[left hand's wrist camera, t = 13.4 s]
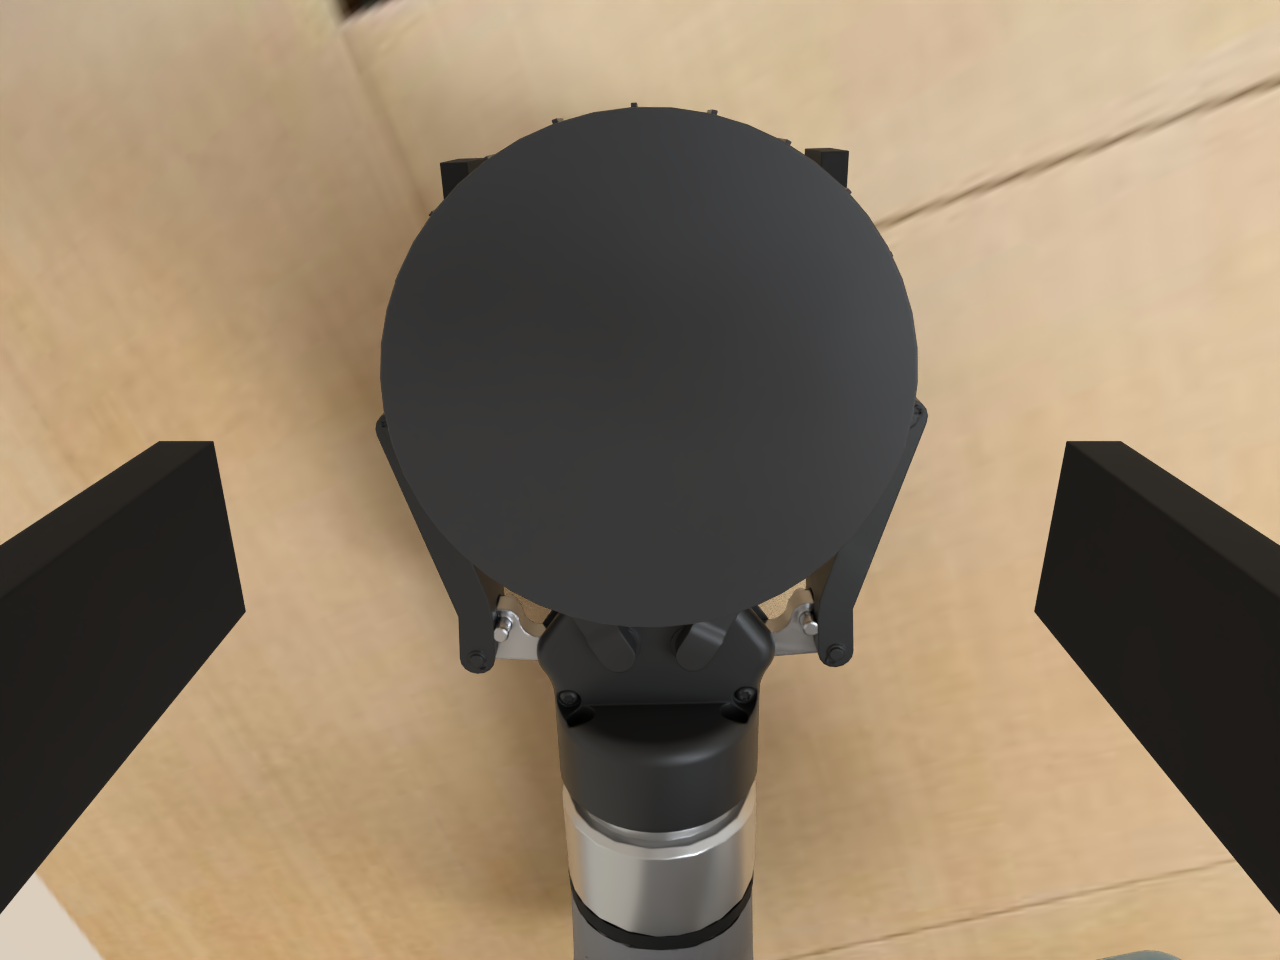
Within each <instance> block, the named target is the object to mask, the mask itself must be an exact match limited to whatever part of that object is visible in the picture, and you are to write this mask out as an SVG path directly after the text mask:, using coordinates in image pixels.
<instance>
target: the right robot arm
mask: <svg viewBox="0 0 1280 960" xmlns="http://www.w3.org/2000/svg"><path fill="white" fill-rule="evenodd" d="M805 156H807V157H809V158H810V159H812V160H813V161H815V162H816V163H817V164H818V165H819V166H821V167H822V168H823V169H824V170H825V171H826V172H827V173H829V174H830V175H831V176H832V177H833V178H834V179H835V180H837V181H838V182H839V183H840V184H841V185H842V186H843V187H845V188H847V175H848V157H849V151H846V150H839V149H833V148H813V149H805ZM482 159H483V158H472V159H456V160H451V161H447V162H442V163H440V167H441V177H442V186H443V195H444V199H445V198H446V197H447V196H448V195H449V194H450V193H451V191H452V190H453V189H454V188H455V187H456V186H457V185H458V184H459V183H460V182H461V181H462V180H463V179H465V178H466V177H467V176H468V175H469V174H470V173H472V172H473V171H474V170H475V169H476V168H478V167H479V166H480V165H481V164H482V163H483V162H484V161H483V160H482ZM927 418H928V414H927V410H926V408H925V407H924V405H923V404H922V403H921V402H920V401H919V400H918V399H917V398H915V406H914V414H913V419H912V422H911V426H910V430H909V433H908V437H907V441H906V445H905V448H904V451H903V453H902V455H901V458H900V460H899V463H898V465H897V467H896V470H895V472H894V475H893V477H892V479H891V481H890V483H889V485H888V486H887V488H886V490H885V492H884V493H883V495H882V497H881V498H880V500H879V502H878V504H877V505H876V507H875V509H874V510H873V511H872V513H871V514H870V515H869V516H868V518H867V519H866V520H865V522H864V523H863V524H862V526H861V527H860V528H859V530H858V531H857V532H856V534H855V535H854V536H853V537H852V538H851V539H850V540H849V541H848V542H847V543H846V544H845V545H844V546H843V547H842V548H841V549H840V550H839V551H838V552H837V553H836V554H835V555H834V556H833V557H832V558H831V559H830V560H828V561H827V562H826V563H825V564H823V565H822V566H821V567H820V568H818V569H817V570H816V571H815V572H814V573H812V574H811V575H810V576H809V577H807V578H806V589H803V588H799V589H796V590H795V591H794V593H793V595H792V596H791V597H790V598H789V600H788V603H787V607H786V610H785V611H784V613H783V614H781V615H780V616H779V617H777V618H774V619H768V618H767V616H766V615H765V613H764V612H763V611H762V610H761V609H760V607H759V606H758V605H756V606H754V607H752V608H749V609H746V610H743V611H740V612H737V613H734V614H731V615H729V616H726V617H722V618H718V619H713V620H709V621H704V622H700V623H695V624H688V625H678V626H669V627H626V626H618V625H610V624H602V623H596V622H592V621H588V620H584V619H580V618H576V617H571V616H568V615H565V614H562V613H560V612H557V611H554V610H552V611H551V612H550V613H549V615H548V616H547V617H546V619H545V620H544V622H543V624H540V623H535V622H533V621H531V620H530V619H528V618H527V617H526V615H525V613H524V610H523V607H522V605H521V604H520V602H519V601H518V600H517V598H516V597H515V596H514V595H512V594H506V595H504V586H503V585H501V584H500V583H498V582H497V581H495V580H494V579H492V578H491V577H489V576H488V575H486V574H485V573H483V572H482V571H481V570H480V569H479V568H477V567H476V566H475V565H474V564H473V563H471V562H470V561H469V560H468V559H467V558H466V557H464V556H463V555H462V554H461V553H460V552H459V551H458V550H457V549H456V548H455V547H454V546H453V545H452V544H451V543H450V541H449V540H448V539H447V538H446V537H445V536H444V535H443V534H442V533H441V532H440V531H439V530H438V528H437V527H436V525H435V524H434V523H433V521H432V520H431V519H430V517H429V516H428V514H427V513H426V512H425V510H424V509H423V507H422V506H421V505H420V503H419V501H418V500H417V498H416V496H415V494H414V492H413V490H412V489H411V487H410V485H409V483H408V481H407V479H406V478H405V476H404V474H403V471H402V469H401V466H400V464H399V461H398V458H397V456H396V453H395V451H394V448H393V446H392V443H391V438H390V434H389V430H388V426H387V422H386V418H385V414H384V413H383V415H382V416H381V417H380V418H379V420H378V421H377V424H376V433H377V436H378V439H379V441H380V443H381V445H382V448H383V450H384V452H385V454H386V457H387V459H388V461H389V463H390V465H391V468H392V470H393V472H394V474H395V477H396V479H397V481H398V483H399V485H400V488H401V490H402V492H403V494H404V497H405V499H406V501H407V503H408V505H409V508H410V510H411V512H412V514H413V517H414V519H415V521H416V523H417V526H418V528H419V530H420V532H421V534H422V537H423V539H424V541H425V543H426V546H427V548H428V550H429V552H430V554H431V557H432V559H433V561H434V563H435V566H436V568H437V570H438V572H439V575H440V577H441V579H442V581H443V583H444V586H445V588H446V590H447V592H448V595H449V597H450V599H451V601H452V603H453V606H454V608H455V610H456V612H457V615H458V617H459V643H460V660H461V664H462V665H463V666H464V668H465V669H466V670H468V671H470V672H472V673H477V674H479V673H485V672H487V671H489V670H490V669H491V668H492V666H493V665H494V661H495V659H518V660H538V661H539V664H540V665H541V667H542V669H543V670H544V671H545V672H546V674H547V675H548V677H549V678H550V680H551V682H552V684H553V687H554V692H555V704H556V717H557V730H558V743H559V756H560V769H561V776H562V779H563V782H564V784H563V791H562V798H563V809H564V820H565V830H566V841H567V852H568V862H569V877H570V884H571V890H572V912H573V938H574V960H753V933H752V884H753V868H754V863H755V835H756V780H755V776H756V772H757V755H758V720H759V688H760V682H761V679H762V676H763V674H764V672H765V671H766V669H767V668H768V667H769V665H770V664H771V662H772V660H773V658H774V656H782V655H794V654H806V653H818V655H819V658H820V660H821V661H822V662H823V663H824V664H825V665H828V666H830V667H838V666H842V665H844V664H846V663H847V662H848V661H849V660H850V659H851V657H852V654H853V607H854V605H855V602H856V600H857V597H858V595H859V592H860V590H861V587H862V585H863V582H864V579H865V577H866V574H867V572H868V569H869V567H870V564H871V562H872V559H873V557H874V554H875V552H876V549H877V547H878V544H879V542H880V539H881V537H882V534H883V531H884V529H885V526H886V524H887V521H888V519H889V516H890V514H891V511H892V509H893V506H894V504H895V501H896V499H897V496H898V494H899V491H900V489H901V486H902V483H903V481H904V478H905V476H906V473H907V471H908V468H909V466H910V463H911V461H912V458H913V456H914V453H915V451H916V448H917V446H918V443H919V441H920V438H921V435H922V433H923V430H924V428H925V425H926V423H927ZM1098 960H1181V959H1179V958H1177V957H1175V956H1173V955H1170V954H1167V953H1163V952H1160V951H1146V950H1145V951H1138V952H1133V953H1128V954H1123V955H1118V956H1113V957H1108V958H1103V959H1098Z"/></svg>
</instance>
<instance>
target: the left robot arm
mask: <svg viewBox="0 0 1280 960" xmlns="http://www.w3.org/2000/svg"><path fill="white" fill-rule="evenodd" d="M245 612H246V610H245V605H244V600H243V594H242V589H241V584H240V579H239V573H238V568H237V563H236V558H235V552H234V547H233V542H232V537H231V531H230V526H229V521H228V516H227V510H226V505H225V500H224V494H223V489H222V484H221V479H220V473H219V468H218V463H217V458H216V452H215V447H214V442H213V441H159V442H157V443H156V444H154V445H153V446H151V447H150V448H148V449H147V450H145V451H144V452H142V453H141V454H139V455H137V456H136V457H134V458H133V459H131V460H130V461H128V462H127V463H125V464H124V465H122V466H121V467H119V468H118V469H116V470H115V471H113V472H112V473H110V474H108V475H107V476H105V477H104V478H102V479H101V480H99V481H98V482H96V483H95V484H93V485H92V486H90V487H89V488H87V489H86V490H84V491H83V492H81V493H80V494H78V495H76V496H75V497H73V498H72V499H70V500H69V501H67V502H66V503H64V504H63V505H61V506H60V507H58V508H57V509H55V510H54V511H52V512H51V513H49V514H47V515H46V516H44V517H43V518H41V519H40V520H38V521H37V522H35V523H34V524H32V525H31V526H29V527H28V528H26V529H25V530H23V531H22V532H20V533H19V534H17V535H15V536H14V537H12V538H11V539H9V540H8V541H6V542H5V543H3V544H2V545H0V914H1V913H2V911H3V910H4V909H5V908H6V906H7V905H8V904H9V903H10V901H11V900H12V899H13V898H14V896H15V895H16V894H17V893H18V892H19V890H20V889H21V888H22V887H23V885H24V884H25V883H26V882H27V880H28V879H29V878H30V877H31V876H32V874H33V873H34V872H35V871H36V869H37V868H38V867H39V866H40V864H41V863H42V862H43V861H44V860H45V858H46V857H47V856H48V855H49V853H50V852H51V851H52V850H53V848H54V847H55V846H56V845H57V844H58V842H59V841H60V840H61V839H62V837H63V836H64V835H65V834H66V832H67V831H68V830H69V829H70V828H71V826H72V825H73V824H74V823H75V821H76V820H77V819H78V818H79V816H80V815H81V814H82V813H83V812H84V810H85V809H86V808H87V807H88V805H89V804H90V803H91V802H92V800H93V799H94V798H95V797H96V796H97V794H98V793H99V792H100V791H101V789H102V788H103V787H104V786H105V784H106V783H107V782H108V781H109V779H110V778H111V777H112V776H113V775H114V773H115V772H116V771H117V770H118V768H119V767H120V766H121V765H122V763H123V762H124V761H125V760H126V759H127V757H128V756H129V755H130V754H131V752H132V751H133V750H134V749H135V747H136V746H137V745H138V744H139V743H140V741H141V740H142V739H143V738H144V736H145V735H146V734H147V733H148V731H149V730H150V729H151V728H152V727H153V725H154V724H155V723H156V722H157V720H158V719H159V718H160V717H161V715H162V714H163V713H164V712H165V710H166V709H167V708H168V707H169V706H170V704H171V703H172V702H173V701H174V699H175V698H176V697H177V696H178V694H179V693H180V692H181V691H182V690H183V688H184V687H185V686H186V685H187V683H188V682H189V681H190V680H191V678H192V677H193V676H194V675H195V674H196V672H197V671H198V670H199V669H200V667H201V666H202V665H203V664H204V662H205V661H206V660H207V659H208V658H209V656H210V655H211V654H212V653H213V651H214V650H215V649H216V648H217V646H218V645H219V644H220V643H221V641H222V640H223V639H224V638H225V637H226V635H227V634H228V633H229V632H230V630H231V629H232V628H233V627H234V625H235V624H236V623H237V622H238V621H239V619H240V618H241V617H242V616H243V614H244V613H245ZM1034 612H1035V613H1036V614H1037V616H1038V617H1039V618H1040V619H1041V621H1042V622H1043V623H1044V624H1045V625H1046V627H1047V628H1048V629H1049V630H1050V632H1051V633H1052V634H1053V635H1054V637H1055V638H1056V639H1057V640H1058V642H1059V643H1060V644H1061V645H1062V646H1063V648H1064V649H1065V650H1066V651H1067V653H1068V654H1069V655H1070V656H1071V658H1072V659H1073V660H1074V661H1075V662H1076V664H1077V665H1078V666H1079V667H1080V669H1081V670H1082V671H1083V672H1084V674H1085V675H1086V676H1087V677H1088V678H1089V680H1090V681H1091V682H1092V683H1093V685H1094V686H1095V687H1096V688H1097V690H1098V691H1099V692H1100V693H1101V694H1102V696H1103V697H1104V698H1105V699H1106V701H1107V702H1108V703H1109V704H1110V706H1111V707H1112V708H1113V709H1114V710H1115V712H1116V713H1117V714H1118V715H1119V717H1120V718H1121V719H1122V720H1123V722H1124V723H1125V724H1126V725H1127V727H1128V728H1129V729H1130V730H1131V731H1132V733H1133V734H1134V735H1135V736H1136V738H1137V739H1138V740H1139V741H1140V743H1141V744H1142V745H1143V746H1144V747H1145V749H1146V750H1147V751H1148V752H1149V754H1150V755H1151V756H1152V757H1153V759H1154V760H1155V761H1156V762H1157V763H1158V765H1159V766H1160V767H1161V768H1162V770H1163V771H1164V772H1165V773H1166V775H1167V776H1168V777H1169V778H1170V779H1171V781H1172V782H1173V783H1174V784H1175V786H1176V787H1177V788H1178V789H1179V791H1180V792H1181V793H1182V794H1183V796H1184V797H1185V798H1186V799H1187V800H1188V802H1189V803H1190V804H1191V805H1192V807H1193V808H1194V809H1195V810H1196V812H1197V813H1198V814H1199V815H1200V816H1201V818H1202V819H1203V820H1204V821H1205V823H1206V824H1207V825H1208V826H1209V828H1210V829H1211V830H1212V831H1213V832H1214V834H1215V835H1216V836H1217V837H1218V839H1219V840H1220V841H1221V842H1222V844H1223V845H1224V846H1225V847H1226V848H1227V850H1228V851H1229V852H1230V853H1231V855H1232V856H1233V857H1234V858H1235V860H1236V861H1237V862H1238V863H1239V865H1240V866H1241V867H1242V868H1243V869H1244V871H1245V872H1246V873H1247V874H1248V876H1249V877H1250V878H1251V879H1252V881H1253V882H1254V883H1255V884H1256V885H1257V887H1258V888H1259V889H1260V890H1261V892H1262V893H1263V894H1264V895H1265V897H1266V898H1267V899H1268V900H1269V901H1270V903H1271V904H1272V905H1273V906H1274V908H1275V909H1276V910H1277V911H1278V913H1279V914H1280V545H1278V544H1277V543H1275V542H1274V541H1272V540H1271V539H1269V538H1268V537H1266V536H1265V535H1263V534H1261V533H1260V532H1258V531H1257V530H1255V529H1254V528H1252V527H1251V526H1249V525H1248V524H1246V523H1245V522H1243V521H1242V520H1240V519H1239V518H1237V517H1236V516H1234V515H1232V514H1231V513H1229V512H1228V511H1226V510H1225V509H1223V508H1222V507H1220V506H1219V505H1217V504H1216V503H1214V502H1213V501H1211V500H1210V499H1208V498H1207V497H1205V496H1204V495H1202V494H1200V493H1199V492H1197V491H1196V490H1194V489H1193V488H1191V487H1190V486H1188V485H1187V484H1185V483H1184V482H1182V481H1181V480H1179V479H1178V478H1176V477H1175V476H1173V475H1172V474H1170V473H1168V472H1167V471H1165V470H1164V469H1162V468H1161V467H1159V466H1158V465H1156V464H1155V463H1153V462H1152V461H1150V460H1149V459H1147V458H1146V457H1144V456H1143V455H1141V454H1139V453H1138V452H1136V451H1135V450H1133V449H1132V448H1130V447H1129V446H1127V445H1126V444H1124V443H1123V442H1121V441H1067V442H1066V447H1065V452H1064V458H1063V463H1062V468H1061V473H1060V479H1059V484H1058V489H1057V494H1056V500H1055V505H1054V510H1053V516H1052V521H1051V526H1050V531H1049V537H1048V542H1047V547H1046V552H1045V558H1044V563H1043V568H1042V573H1041V579H1040V584H1039V589H1038V594H1037V600H1036V605H1035V610H1034Z"/></svg>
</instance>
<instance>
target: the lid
mask: <svg viewBox="0 0 1280 960" xmlns="http://www.w3.org/2000/svg"><path fill="white" fill-rule="evenodd" d="M717 112H718V111H716V110H708V111H707V113H705V112H698V111H692V110H685V109H678V108H672V107H637V103H631V107H630V108H622V109H615V110H607V111H600V112H593V113H589V114H586V115H582V116H579V117H575V118H572V119H568V120H565V121H564V120H563V119H554V120H552V123H553V124H552V125H550V126H548V127H545V128H543V129H541V130H539V131H536V132H534V133H532V134H530V135H527V136H525V137H523V138H521V139H519V140H517V141H516V142H514V143H512V144H511V145H509V146H508V147H506V148H505V149H503V150H501V151H500V152H498V153H497V154H494V155H490V156H486V157H485V158H483V159H482V160H483V161H484V162H483V163H482V164H481V165H480V166H479V167H478V168H476V169H475V170H474V171H473V172H472V173H470V174H469V175H468V176H467V177H466V178H465V179H463V180H462V181H461V182H460V183H459V184H458V185H457V186H456V187H455V188H454V189H453V190H452V191H451V193H450V194H449V195H448V196H447V197H446V198H445V199H444V200H443V202H442V203H441V204H440V205H439V206H438V207H437V208H436V209H435V210H434V211H432V212H431V213H430V214H429V216H430V218H429V219H428V221H427V222H426V224H425V225H424V227H423V228H422V230H421V231H420V233H419V234H418V236H417V237H416V239H415V240H414V242H413V244H412V246H411V248H410V250H409V252H408V254H407V256H406V258H405V260H404V263H403V265H402V267H401V269H400V271H399V273H398V275H397V278H396V280H395V285H394V288H393V291H392V294H391V298H390V301H389V304H388V307H387V311H386V317H385V323H384V329H383V335H382V341H381V367H380V380H381V390H382V399H383V408H384V414H385V418H386V422H387V426H388V430H389V434H390V438H391V443H392V446H393V448H394V451H395V453H396V456H397V458H398V461H399V464H400V466H401V469H402V471H403V474H404V476H405V478H406V479H407V481H408V483H409V485H410V487H411V489H412V490H413V492H414V494H415V496H416V498H417V500H418V501H419V503H420V505H421V506H422V507H423V509H424V510H425V512H426V513H427V514H428V516H429V517H430V519H431V520H432V521H433V523H434V524H435V525H436V527H437V528H438V530H439V531H440V532H441V533H442V534H443V535H444V536H445V537H446V538H447V539H448V540H449V541H450V543H451V544H452V545H453V546H454V547H455V548H456V549H457V550H458V551H459V552H460V553H461V554H462V555H463V556H464V557H466V558H467V559H468V560H469V561H470V562H471V563H473V564H474V565H475V566H476V567H477V568H479V569H480V570H481V571H482V572H483V573H485V574H486V575H488V576H489V577H491V578H492V579H494V580H495V581H497V582H498V583H500V584H501V585H503V586H504V587H506V588H507V589H509V590H510V591H512V592H514V593H516V594H518V595H520V596H522V597H524V598H526V599H528V600H530V601H532V602H534V603H536V604H538V605H540V606H543V607H546V608H549V609H551V610H554V611H557V612H560V613H562V614H565V615H568V616H571V617H576V618H580V619H584V620H588V621H592V622H596V623H602V624H610V625H618V626H626V627H669V626H678V625H688V624H695V623H700V622H704V621H709V620H713V619H718V618H722V617H726V616H729V615H731V614H734V613H737V612H740V611H743V610H746V609H749V608H752V607H754V606H756V605H759V604H761V603H763V602H765V601H767V600H769V599H771V598H773V597H775V596H777V595H779V594H782V593H783V592H785V591H786V590H788V589H790V588H791V587H793V586H794V585H796V584H797V583H799V582H801V581H802V580H804V579H805V578H807V577H809V576H810V575H811V574H812V573H814V572H815V571H816V570H817V569H818V568H820V567H821V566H822V565H823V564H825V563H826V562H827V561H828V560H830V559H831V558H832V557H833V556H834V555H835V554H836V553H837V552H838V551H839V550H840V549H841V548H842V547H843V546H844V545H845V544H846V543H847V542H848V541H849V540H850V539H851V538H852V537H853V536H854V535H855V534H856V532H857V531H858V530H859V528H860V527H861V526H862V524H863V523H864V522H865V520H866V519H867V518H868V516H869V515H870V514H871V513H872V511H873V510H874V509H875V507H876V505H877V504H878V502H879V500H880V498H881V497H882V495H883V493H884V492H885V490H886V488H887V486H888V485H889V483H890V481H891V479H892V477H893V475H894V472H895V470H896V467H897V465H898V463H899V460H900V458H901V455H902V453H903V451H904V448H905V445H906V441H907V437H908V433H909V430H910V426H911V422H912V419H913V414H914V406H915V398H916V391H917V383H918V359H917V341H916V334H915V327H914V320H913V314H912V310H911V306H910V303H909V300H908V296H907V293H906V289H905V286H904V282H903V279H902V277H901V275H900V272H899V270H898V268H897V266H896V263H895V261H894V259H893V255H892V252H891V251H890V250H889V248H888V246H887V244H886V243H885V241H884V240H883V238H882V236H881V235H880V233H879V232H878V230H877V229H876V227H875V225H874V224H873V222H872V221H871V219H870V218H869V216H868V215H867V213H866V212H865V211H864V210H863V209H862V208H861V206H860V205H859V204H858V203H857V202H856V201H855V199H854V198H853V197H852V196H851V195H850V194H851V193H852V192H851V191H850V190H849V189H848V188H845V187H843V186H842V185H841V184H840V183H839V182H838V181H837V180H835V179H834V178H833V177H832V176H831V175H830V174H829V173H827V172H826V171H825V170H824V169H823V168H822V167H821V166H819V165H818V164H817V163H816V162H815V161H813V160H812V159H810V158H809V157H807V156H805V155H804V154H802V153H801V152H799V151H798V150H796V149H795V148H793V147H792V146H790V144H791V141H789V140H787V139H781V138H776V137H774V136H771V135H769V134H767V133H765V132H763V131H761V130H758V129H756V128H754V127H752V126H750V125H748V124H744V123H741V122H738V121H734V120H731V119H728V118H724V117H721V116H718V115H717Z"/></svg>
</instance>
